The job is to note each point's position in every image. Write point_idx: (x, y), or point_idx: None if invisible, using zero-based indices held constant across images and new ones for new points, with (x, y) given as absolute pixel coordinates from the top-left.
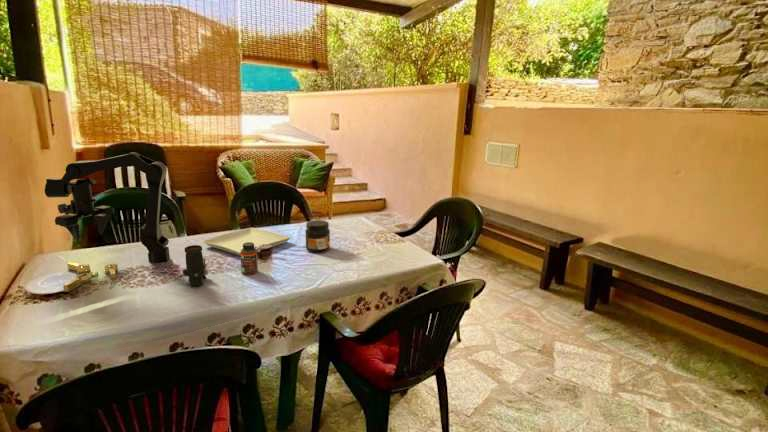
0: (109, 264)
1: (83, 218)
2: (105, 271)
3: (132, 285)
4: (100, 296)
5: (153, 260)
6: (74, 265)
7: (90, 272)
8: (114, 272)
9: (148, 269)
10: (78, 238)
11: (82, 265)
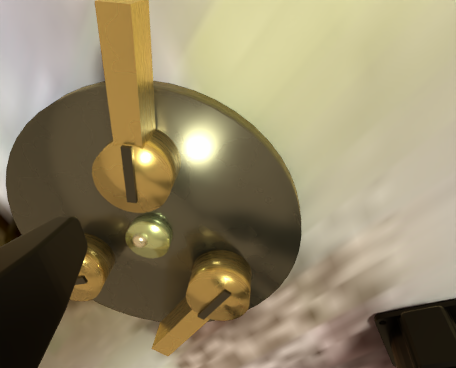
0: (229, 282)
1: None
2: (191, 273)
3: (191, 360)
4: (83, 337)
5: (397, 354)
6: (109, 108)
7: (133, 241)
8: (171, 351)
9: (343, 327)
10: (53, 300)
11: (131, 177)
